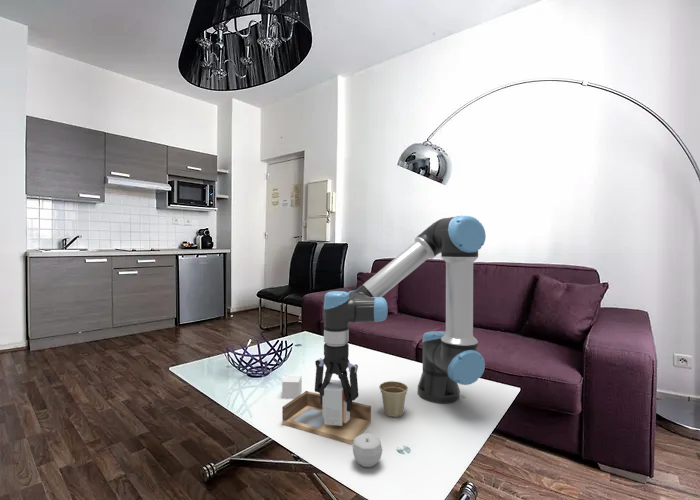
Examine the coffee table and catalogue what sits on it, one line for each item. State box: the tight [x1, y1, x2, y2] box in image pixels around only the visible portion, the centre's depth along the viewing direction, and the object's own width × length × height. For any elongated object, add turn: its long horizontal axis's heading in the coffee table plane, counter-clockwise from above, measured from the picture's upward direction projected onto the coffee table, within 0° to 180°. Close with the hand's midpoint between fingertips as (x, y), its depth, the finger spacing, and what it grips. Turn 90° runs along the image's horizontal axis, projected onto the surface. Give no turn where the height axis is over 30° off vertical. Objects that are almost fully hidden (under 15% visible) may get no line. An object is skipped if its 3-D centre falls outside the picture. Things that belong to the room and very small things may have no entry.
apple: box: [352, 433, 383, 468], centre depth 88 cm, size 8×8×7 cm
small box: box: [324, 379, 346, 426], centre depth 106 cm, size 8×6×10 cm
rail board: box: [281, 390, 372, 446], centre depth 107 cm, size 24×13×5 cm, turn 63°
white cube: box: [281, 375, 303, 399], centre depth 128 cm, size 6×6×6 cm
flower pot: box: [378, 380, 409, 418], centre depth 114 cm, size 9×9×9 cm
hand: (336, 418), depth 106 cm, fingers closed on small box, 7 cm apart
